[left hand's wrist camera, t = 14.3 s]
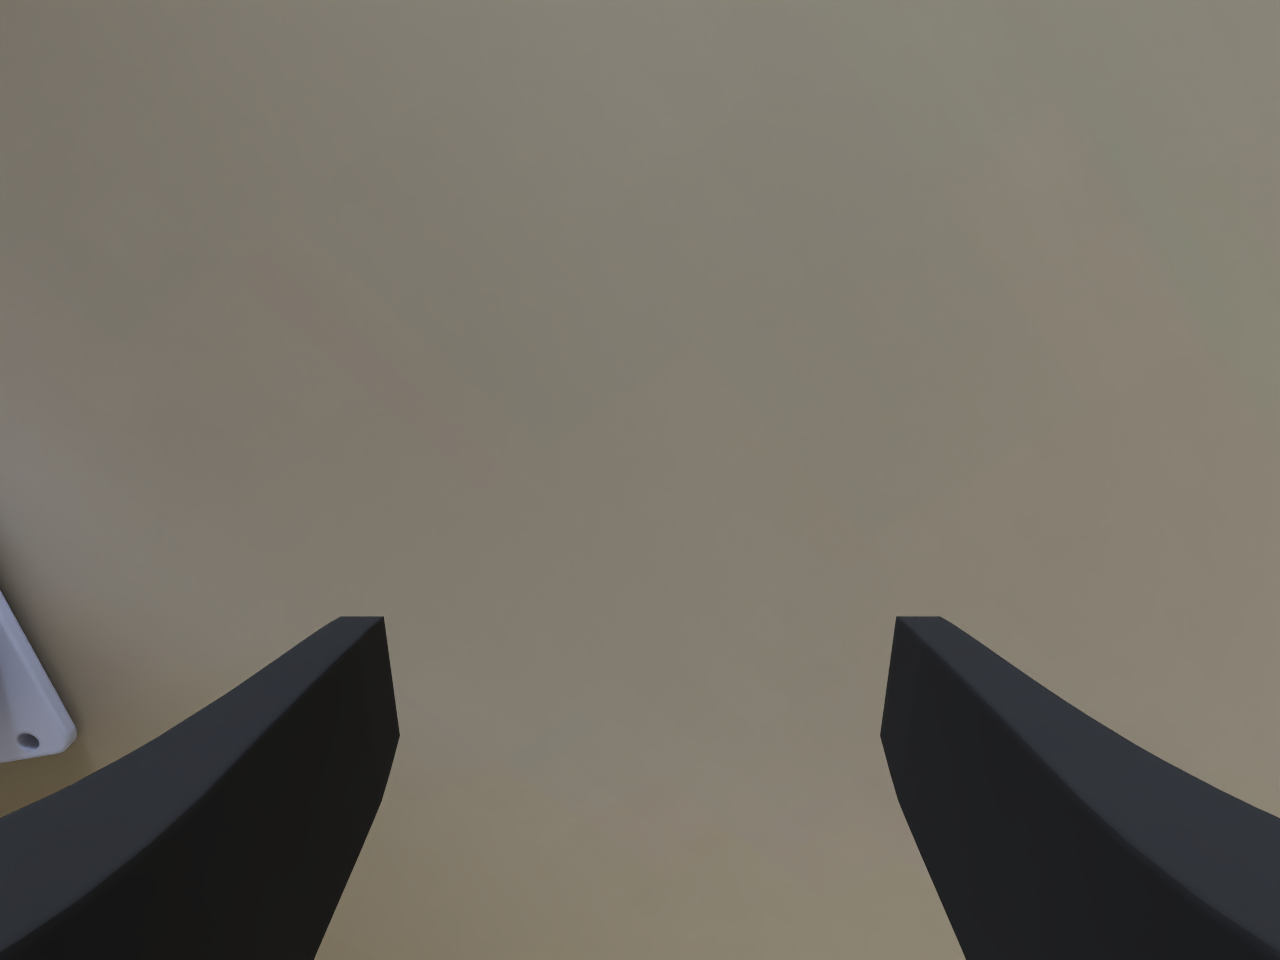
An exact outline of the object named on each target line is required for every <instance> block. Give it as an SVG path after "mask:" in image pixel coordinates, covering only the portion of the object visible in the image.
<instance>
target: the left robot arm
mask: <svg viewBox="0 0 1280 960" xmlns="http://www.w3.org/2000/svg"><path fill="white" fill-rule="evenodd" d="M32 735H33V736H35V737H36V738H37V739H36V738H34V737H33V736H32ZM399 736H400V734H399V726H398V719H397V711H396V704H395V697H394V689H393V682H392V675H391V667H390V660H389V652H388V645H387V638H386V630H385V623H384V617H339V618H337V619H335V620H334V621H332V622H330V623H329V624H327V625H326V626H324V627H322V628H321V629H319V630H318V631H316V632H315V633H313V634H312V635H311V636H309V637H308V638H306V639H305V640H303V641H302V642H300V643H299V644H298V645H296V646H295V647H293V648H292V649H290V650H289V651H288V652H286V653H285V654H283V655H282V656H280V657H279V658H278V659H276V660H275V661H273V662H272V663H270V664H269V665H267V666H266V667H265V668H263V669H262V670H260V671H259V672H257V673H256V674H254V675H253V676H251V677H250V678H249V679H247V680H246V681H244V682H243V683H241V684H240V685H238V686H237V687H236V688H234V689H233V690H231V691H230V692H228V693H227V694H225V695H224V696H222V697H220V698H219V699H217V700H216V701H214V702H213V703H211V704H209V705H208V706H206V707H205V708H203V709H201V710H200V711H198V712H197V713H195V714H194V715H192V716H190V717H189V718H187V719H186V720H184V721H183V722H181V723H179V724H178V725H176V726H175V727H173V728H171V729H170V730H168V731H167V732H165V733H164V734H162V735H160V736H159V737H157V738H155V739H154V740H152V741H150V742H149V743H147V744H145V745H144V746H142V747H140V748H138V749H137V750H135V751H133V752H131V753H129V754H128V755H126V756H124V757H122V758H121V759H119V760H117V761H115V762H113V763H111V764H110V765H108V766H106V767H104V768H102V769H100V770H98V771H96V772H94V773H93V774H91V775H89V776H87V777H85V778H83V779H81V780H79V781H77V782H76V783H74V784H72V785H70V786H68V787H66V788H64V789H62V790H60V791H58V792H56V793H54V794H52V795H49V796H47V797H45V798H43V799H41V800H39V801H36V802H34V803H32V804H30V805H28V806H26V807H23V808H21V809H19V810H17V811H15V812H13V813H10V814H8V815H6V816H4V817H2V818H0V960H314V958H315V955H316V953H317V951H318V948H319V946H320V944H321V941H322V939H323V937H324V935H325V932H326V930H327V928H328V925H329V923H330V921H331V918H332V916H333V914H334V911H335V909H336V907H337V904H338V902H339V900H340V898H341V895H342V893H343V891H344V888H345V886H346V884H347V881H348V879H349V877H350V874H351V872H352V870H353V867H354V865H355V863H356V861H357V858H358V856H359V854H360V851H361V849H362V847H363V844H364V842H365V839H366V837H367V835H368V832H369V830H370V828H371V825H372V823H373V821H374V818H375V816H376V813H377V811H378V808H379V806H380V803H381V801H382V798H383V794H384V791H385V788H386V784H387V781H388V777H389V774H390V770H391V767H392V763H393V759H394V755H395V752H396V748H397V744H398V740H399ZM880 736H881V740H882V744H883V748H884V752H885V755H886V759H887V763H888V767H889V770H890V774H891V777H892V781H893V784H894V788H895V791H896V794H897V798H898V801H899V803H900V806H901V808H902V811H903V813H904V816H905V818H906V821H907V823H908V825H909V828H910V830H911V832H912V835H913V837H914V839H915V842H916V844H917V847H918V849H919V851H920V854H921V856H922V858H923V861H924V863H925V865H926V867H927V870H928V872H929V874H930V877H931V879H932V881H933V884H934V886H935V888H936V891H937V893H938V895H939V898H940V900H941V902H942V904H943V907H944V909H945V911H946V914H947V916H948V918H949V921H950V923H951V925H952V928H953V930H954V932H955V935H956V937H957V939H958V941H959V944H960V946H961V948H962V951H963V953H964V955H965V958H966V960H1280V818H1278V817H1276V816H1274V815H1272V814H1269V813H1267V812H1265V811H1263V810H1260V809H1258V808H1256V807H1254V806H1252V805H1250V804H1248V803H1246V802H1244V801H1242V800H1239V799H1237V798H1235V797H1233V796H1231V795H1229V794H1227V793H1225V792H1223V791H1221V790H1219V789H1217V788H1215V787H1213V786H1211V785H1209V784H1208V783H1206V782H1204V781H1202V780H1200V779H1198V778H1196V777H1194V776H1192V775H1190V774H1188V773H1187V772H1185V771H1183V770H1181V769H1179V768H1177V767H1175V766H1173V765H1171V764H1169V763H1167V762H1166V761H1164V760H1162V759H1160V758H1158V757H1157V756H1155V755H1153V754H1151V753H1149V752H1148V751H1146V750H1144V749H1142V748H1141V747H1139V746H1137V745H1135V744H1134V743H1132V742H1130V741H1129V740H1127V739H1125V738H1124V737H1122V736H1120V735H1119V734H1117V733H1116V732H1114V731H1112V730H1111V729H1109V728H1107V727H1106V726H1104V725H1102V724H1101V723H1099V722H1098V721H1096V720H1094V719H1093V718H1091V717H1089V716H1088V715H1086V714H1085V713H1083V712H1082V711H1080V710H1078V709H1077V708H1075V707H1074V706H1072V705H1071V704H1069V703H1068V702H1066V701H1064V700H1063V699H1061V698H1060V697H1058V696H1057V695H1055V694H1054V693H1052V692H1051V691H1049V690H1048V689H1046V688H1045V687H1044V686H1042V685H1041V684H1039V683H1038V682H1036V681H1035V680H1033V679H1032V678H1030V677H1029V676H1027V675H1026V674H1024V673H1023V672H1022V671H1020V670H1019V669H1017V668H1016V667H1014V666H1013V665H1012V664H1010V663H1009V662H1007V661H1006V660H1004V659H1003V658H1002V657H1000V656H999V655H997V654H996V653H994V652H993V651H992V650H990V649H989V648H987V647H986V646H984V645H983V644H981V643H980V642H979V641H977V640H976V639H974V638H973V637H971V636H970V635H968V634H967V633H965V632H964V631H962V630H961V629H959V628H958V627H956V626H955V625H953V624H952V623H950V622H948V621H947V620H945V619H943V618H942V617H896V623H895V630H894V638H893V645H892V652H891V660H890V667H889V675H888V682H887V689H886V697H885V704H884V711H883V719H882V726H881V734H880ZM76 737H77V730H76V727H75V725H74V723H73V721H72V719H71V718H70V716H69V714H68V712H67V710H66V709H65V707H64V705H63V703H62V701H61V700H60V698H59V696H58V694H57V692H56V690H55V689H54V687H53V685H52V683H51V681H50V680H49V678H48V676H47V674H46V672H45V670H44V669H43V667H42V665H41V663H40V661H39V660H38V658H37V656H36V654H35V652H34V651H33V649H32V647H31V645H30V643H29V641H28V640H27V638H26V636H25V634H24V632H23V631H22V629H21V627H20V625H19V623H18V621H17V620H16V618H15V616H14V614H13V612H12V611H11V609H10V607H9V605H8V603H7V602H6V600H5V598H4V596H3V594H2V592H1V591H0V763H3V762H10V761H16V760H22V759H28V758H34V757H41V756H47V755H53V754H58V753H61V752H64V751H65V750H66V749H67V748H68V747H69V746H70V745H71V744H72V743H73V742H74V741H75V740H76Z"/></svg>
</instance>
